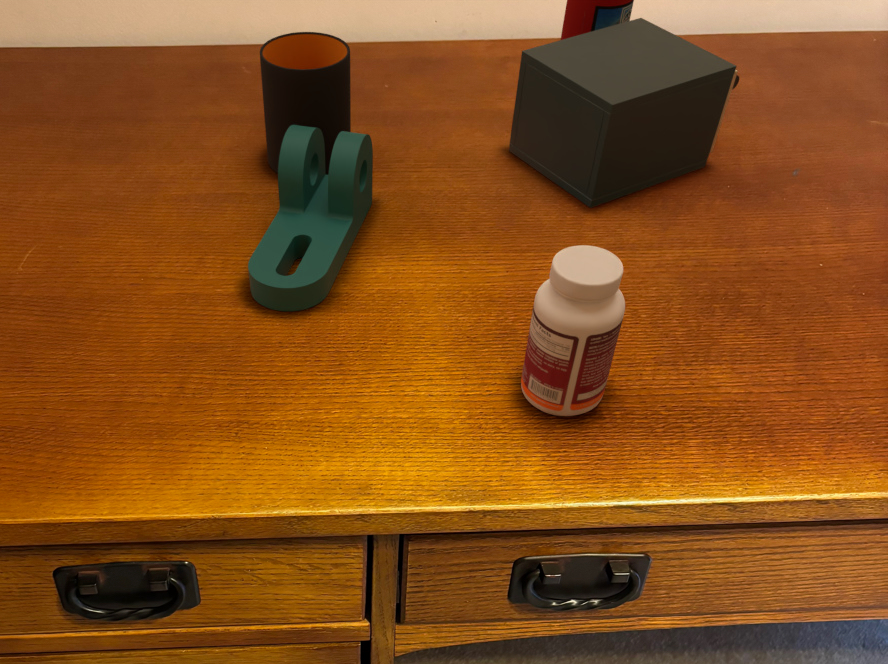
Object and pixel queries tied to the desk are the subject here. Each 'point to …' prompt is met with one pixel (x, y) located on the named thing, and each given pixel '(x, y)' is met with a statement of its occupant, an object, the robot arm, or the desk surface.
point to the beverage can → (594, 15)
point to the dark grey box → (618, 109)
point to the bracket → (312, 218)
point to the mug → (305, 88)
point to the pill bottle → (574, 331)
